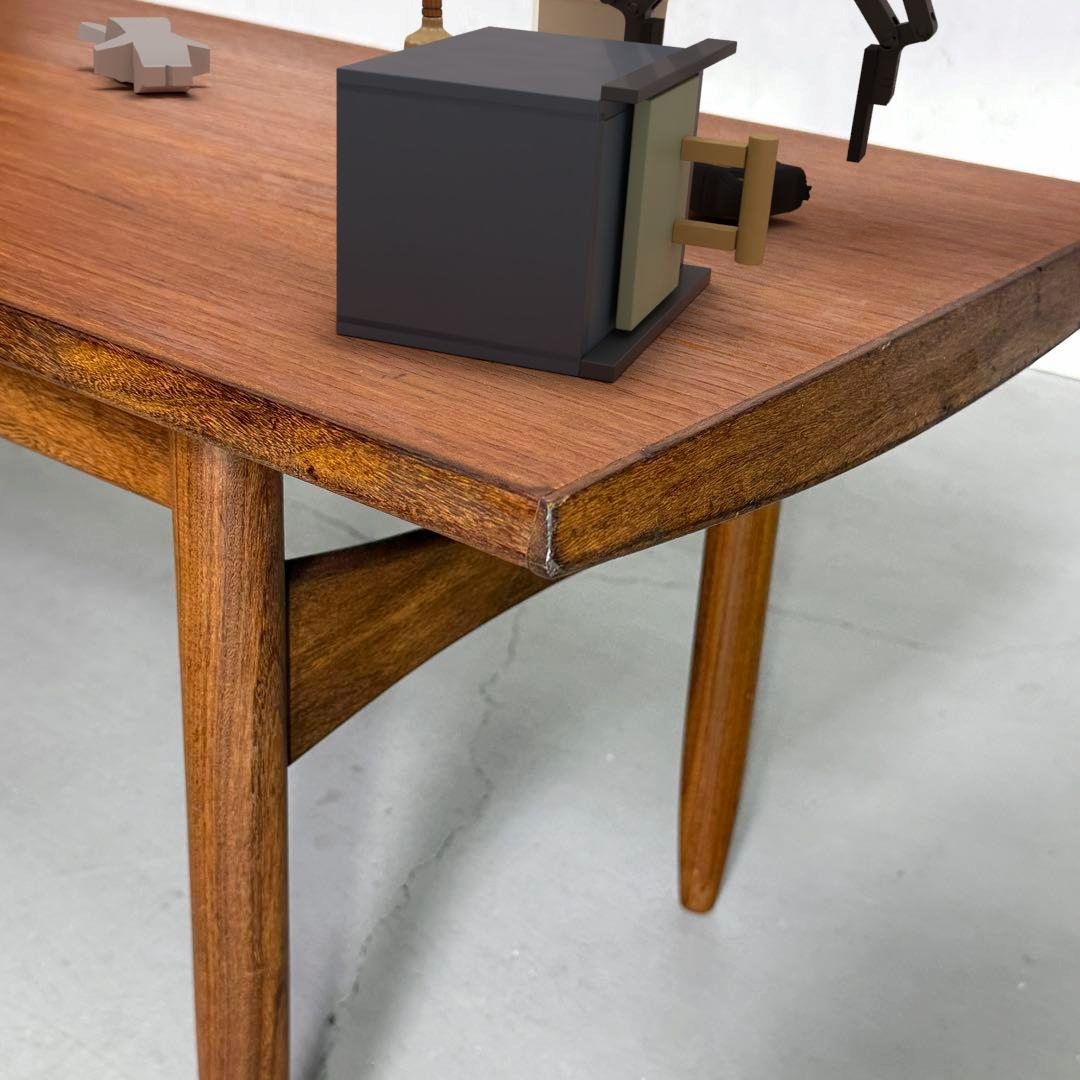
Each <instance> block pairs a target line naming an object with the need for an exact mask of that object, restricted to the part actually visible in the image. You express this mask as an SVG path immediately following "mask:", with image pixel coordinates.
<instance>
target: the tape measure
mask: <svg viewBox="0 0 1080 1080" xmlns="http://www.w3.org/2000/svg"><path fill="white" fill-rule="evenodd" d="M744 175H745V167H744V168H738V167H730V166H723V165H715V164H708V163H700V162H694V166H693V176H692V185H691V195H690V204H689V212H693V213H694V214H697V215H700V216H705V217H710V218H711V217H712V218H717V219H723V220H733V221H734V220H735V221H736V222H739V216H740V208H741V199H742V191H743V183H744ZM812 189H813V186H812V185H808V179H807V175H806V172H805V170H804V169H803V168H802V167H800V166H797V165H792V164H787V163H781V162H780V161H778V159H776V167H775V175H774V183H773V190H772V198H771V206H770V214H769V218H770V217H774V216H777V215H784V214H789V213H792V212H794V211H796V210H799V209H800V208H801V206H802V205H803V202H804V201H806V202H808V201H809V200H810V198H811V194H810V191H811V190H812Z"/></svg>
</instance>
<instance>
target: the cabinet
mask: <svg viewBox="0 0 1080 1080" xmlns="http://www.w3.org/2000/svg"><path fill="white" fill-rule="evenodd" d="M737 48H738V41H736V40H729V39H719V38H711V37H708V38H705V39H703V40H701V41H698V42H696V43H694V44H692V45H689V46H687V47H682V46H681V47H679V46H671V45H664V44H663V45H654V44H645V43H636V42H627V41H618V40H609V39H600V38H591V37H582V36H573V35H564V34H555V33H546V32H538V30H537V31H535V30H527V29H519V28H508V27H499V26H492V25H491V26H485V27H482V28H481V27H480V28H478V29H477V28H476V29H473V30H470V31H467V32H462V33H459V34H456V35H452V37H448V38H445V39H441V40H437V41H434V42H430V43H426V44H423V45H419V46H415V47H412V48H408V49H404V48H403V49H401V50H398V51H394V52H390V53H387V54H383V55H378V56H376V57H375V56H374V57H372V58H369V59H364V60H361V61H357V62H354V63H349V64H347V65H343V66H342V65H341V66H339V67H336V74H335V76H336V77H335V78H336V80H335V82H336V83H335V84H336V85H335V87H336V89H335V90H336V96H335V97H336V98H335V99H336V102H335V103H336V105H335V106H336V109H335V110H336V117H335V118H336V123H335V124H336V125H335V126H336V127H335V128H336V131H335V132H336V133H335V135H336V136H335V138H336V141H335V142H336V146H335V147H336V148H335V149H336V156H335V157H336V163H335V164H336V168H335V169H336V184H335V185H336V187H335V189H336V191H335V192H336V195H335V196H336V197H335V199H336V201H335V202H336V204H335V205H336V207H335V208H336V216H335V217H336V219H335V220H336V226H335V227H336V230H335V231H336V237H335V239H336V243H335V244H336V245H335V246H336V251H335V252H336V256H335V257H336V262H335V263H336V272H335V273H336V275H335V276H336V282H335V283H336V284H335V285H336V289H335V290H336V291H335V292H336V294H335V295H336V296H335V297H336V301H335V302H336V303H335V305H336V315H335V333H336V334H338V335H343V336H350V337H355V338H359V339H366V340H370V341H371V340H372V341H377V342H382V343H383V342H384V343H389V344H394V345H400V346H404V347H405V346H406V347H411V348H415V349H416V348H417V349H423V350H428V351H433V352H439V353H446V354H450V355H455V356H460V357H461V356H462V357H467V358H473V359H479V360H484V361H490V362H495V363H501V364H507V365H512V366H519V367H524V368H529V369H534V370H540V371H545V372H551V373H556V374H562V375H567V376H574V377H580V378H586V379H591V380H597V381H602V382H607V383H614V382H615V381H616V380H617V379H618V378H619V377H620V376H621V375H622V373H624V371H626V369H628V367H630V365H631V364H632V363H633V362H634V361H635V360H636V359H637V358H638V357H639V356H640V355H641V354H642V353H643V352H644V351H645V350H646V349H647V348H648V347H649V346H651V344H652V343H653V342H654V341H655V340H656V339H657V338H658V337H659V335H660V334H662V332H663V331H664V330H665V329H666V328H667V327H668V326H669V325H670V324H671V323H672V322H673V321H674V320H675V319H676V318H677V317H678V316H679V315H680V314H681V312H683V310H685V309H686V308H687V306H688V305H689V304H690V303H691V302H692V301H693V300H694V299H695V298H696V297H697V296H698V295H699V294H700V293H701V292H702V291H703V290H704V289H705V288H706V287H707V286H708V285H709V284H710V283H711V279H712V278H711V277H712V268H711V267H706V266H700V265H694V264H686V263H684V260H685V253H686V252H685V250H686V245H685V244H682V250H681V260H680V270H679V279H678V286H677V287H676V288H675V289H674V290H673V291H672V292H671V293H670V294H669V295H668V296H667V297H666V298H665V299H663V300H662V301H661V302H660V303H659V304H658V305H657V306H656V307H655V308H654V309H653V310H652V311H651V312H650V313H649V314H648V315H647V316H646V317H645V318H644V319H643V320H642V321H641V322H640V323H639V324H638V325H637V326H636V327H635V328H634V329H633V330H631V331H627V330H621V329H616V327H615V326H616V315H617V303H618V291H619V280H620V268H621V256H622V245H623V233H624V222H625V210H626V198H627V187H628V175H629V163H630V152H631V140H632V129H633V117H634V105H635V104H638V103H640V102H642V101H644V100H646V99H648V98H650V97H652V96H653V95H655V94H657V93H659V92H661V91H663V90H665V89H667V88H669V87H671V86H673V85H675V84H677V83H679V82H681V81H683V80H684V79H686V78H688V77H690V76H692V75H698V76H699V87H698V96H697V106H696V116H695V125H694V135H693V136H696V137H698V135H697V134H698V128H699V116H700V110H701V109H700V108H701V100H702V99H701V97H702V88H703V78H704V70H706V69H708V68H710V67H712V66H713V65H716V64H717V63H719V62H722V61H724V60H726V59H727V58H729V57H731V56H733V55H736V54H737ZM693 166H694V162H693V161H691V164H690V173H689V183H688V193H687V202H686V212H685V219H686V220H689V213H690V210H689V204H690V195H691V185H692V176H693Z"/></svg>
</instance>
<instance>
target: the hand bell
mask: <svg viewBox="0 0 1080 1080" xmlns="http://www.w3.org/2000/svg"><path fill="white" fill-rule="evenodd" d="M421 7H422V8H421V15H422V17H421V26H420V27H419V28H418V29H417V30H416V31H414V32H412V33H410V34H407V36H406V37H405V39H404V43H403V50H404V49H408V48H412V47H415V46H419V45H423V44H426V43H430V42H434V41H437V40H441V39H445V38H448V37H452V36H453V35H452V34H451V33H449V32H448V31H446V29H445V27H444V19H443V8H442V7H443V0H421Z"/></svg>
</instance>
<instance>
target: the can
mask: <svg viewBox="0 0 1080 1080" xmlns="http://www.w3.org/2000/svg"><path fill="white" fill-rule="evenodd" d="M668 4H669V0H663V1H662V2H661V3H660V4H659V5H658V6H657V7H656V8H655V9H654V12H653V13H651V18H652V17H655V18H663V19H665V20H664V30H663V39H662V45H663V46H664V37H665V28H666V19H667V10H668ZM537 15H538V17H537V32H546V33H555V34H564V35H573V36H582V37H591V38H600V39H609V40H618V41H624V32H625V17H624V15H623V13H622V12H621V11H619V10H618V9H616V8H614V7H612V6H611V5H609V4H603V3H602V2H601V1H600V0H538V14H537Z"/></svg>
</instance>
